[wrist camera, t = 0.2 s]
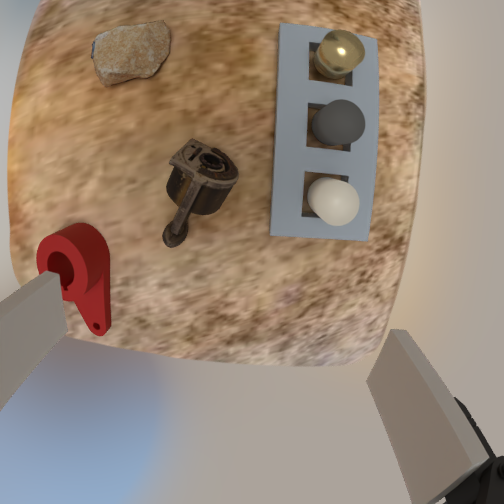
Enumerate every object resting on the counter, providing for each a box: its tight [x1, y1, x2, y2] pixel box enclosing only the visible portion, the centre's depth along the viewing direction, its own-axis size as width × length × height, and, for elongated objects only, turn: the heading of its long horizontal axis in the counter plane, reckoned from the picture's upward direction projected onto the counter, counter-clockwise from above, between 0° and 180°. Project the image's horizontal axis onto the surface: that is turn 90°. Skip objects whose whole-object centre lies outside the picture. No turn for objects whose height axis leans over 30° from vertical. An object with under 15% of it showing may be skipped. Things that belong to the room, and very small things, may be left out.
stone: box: [91, 20, 171, 87], centre depth 26 cm, size 8×10×4 cm
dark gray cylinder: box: [312, 99, 365, 146], centre depth 26 cm, size 4×4×5 cm
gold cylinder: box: [313, 30, 365, 79], centre depth 24 cm, size 4×4×5 cm
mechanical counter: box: [162, 138, 239, 248], centre depth 30 cm, size 7×13×10 cm, turn 164°
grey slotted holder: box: [269, 23, 379, 241], centre depth 30 cm, size 26×12×3 cm, turn 177°
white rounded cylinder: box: [307, 177, 360, 226], centre depth 29 cm, size 4×4×5 cm
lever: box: [36, 223, 111, 336], centre depth 36 cm, size 18×9×7 cm, turn 3°
